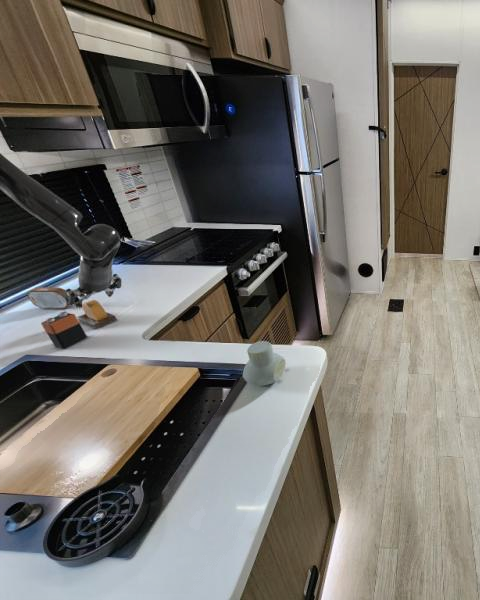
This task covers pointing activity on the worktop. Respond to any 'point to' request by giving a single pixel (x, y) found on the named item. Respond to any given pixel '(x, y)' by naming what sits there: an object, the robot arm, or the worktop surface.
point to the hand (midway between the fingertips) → (93, 299)
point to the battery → (64, 330)
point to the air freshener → (263, 364)
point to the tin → (48, 298)
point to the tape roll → (94, 310)
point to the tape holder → (97, 324)
